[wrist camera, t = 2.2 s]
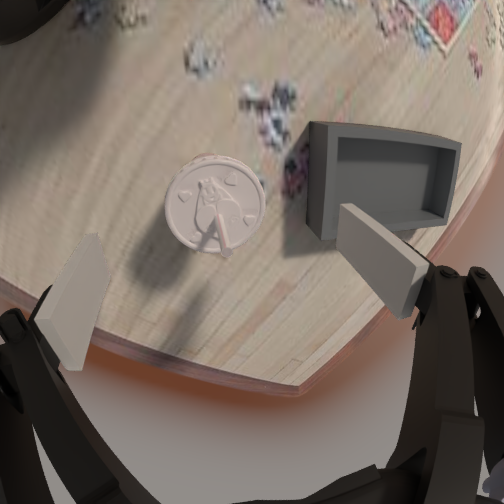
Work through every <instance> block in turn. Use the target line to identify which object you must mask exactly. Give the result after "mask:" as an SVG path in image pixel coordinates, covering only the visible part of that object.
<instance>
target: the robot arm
mask: <svg viewBox="0 0 504 504" xmlns="http://www.w3.org/2000/svg"><path fill="white" fill-rule="evenodd" d="M68 1H69V0H0V45H5V44H10V43H13V42H16V41H18V40H20V39H22V38H24V37H26V36H28V35H29V34H31V33H33V32H34V31H36V30H37V29H38V28H40V27H41V26H42V25H44V24H45V23H46V22H47V21H49V20H50V19H51V18H52V17H53V16H54V15H55V14H56V13H57V12H58V11H59V10H60V9H61V8H62V7H63V6H64V5H65V4H66V3H67V2H68ZM336 248H337V250H338V251H339V252H340V253H341V254H342V255H343V256H344V257H345V258H346V260H347V261H348V262H349V263H350V264H351V265H352V266H353V267H354V269H355V270H356V271H357V272H358V273H359V274H360V275H361V277H362V278H363V279H364V280H365V281H366V282H367V283H368V285H369V286H370V287H371V288H372V289H373V290H374V292H375V293H376V294H377V295H378V296H379V298H380V299H381V300H382V301H383V302H384V304H385V305H386V306H387V307H388V308H389V310H390V311H391V312H392V313H393V315H394V316H395V317H396V318H397V319H398V320H401V319H404V318H407V317H410V316H411V314H412V312H413V309H414V307H415V306H416V307H417V308H418V309H419V310H420V311H419V313H418V315H417V318H416V320H415V322H414V325H413V327H412V330H414V328H415V327H416V338H415V349H414V358H413V366H412V374H411V380H410V387H409V393H408V398H407V403H406V408H405V413H404V418H403V422H402V427H401V431H400V435H399V439H398V443H397V446H396V448H395V451H394V452H393V454H392V456H391V457H390V459H389V461H388V463H387V465H386V468H384V469H377V468H376V465H375V464H373V465H371V466H369V467H366V468H364V469H361V470H359V471H357V472H354V473H352V474H349V475H346V476H344V477H341V478H339V479H338V480H336V481H334V482H333V483H331V484H329V485H328V486H326V487H324V488H323V489H321V490H319V491H317V492H316V493H314V494H312V495H310V496H308V497H306V498H304V499H300V500H254V501H248V502H240V503H233V504H504V296H503V294H502V292H501V291H500V289H499V288H498V286H497V284H496V283H495V281H494V280H493V278H492V277H491V275H490V274H489V273H488V272H487V271H486V270H485V269H483V268H481V267H471V268H470V270H469V273H468V276H460V275H459V274H458V273H457V272H456V271H455V270H454V269H452V268H450V267H448V266H443V265H441V266H437V267H436V266H434V264H432V263H431V262H430V261H429V260H428V259H427V258H425V257H424V256H423V255H422V254H420V253H419V252H418V251H417V250H415V249H414V248H413V247H412V246H411V245H410V244H408V243H406V242H404V241H402V240H400V239H399V238H398V237H396V236H395V235H394V234H393V233H391V232H390V231H389V230H387V229H386V228H385V227H384V226H382V225H381V224H380V223H378V222H377V221H376V220H374V219H373V218H372V217H370V216H369V215H367V214H366V213H365V212H363V211H362V210H361V209H359V208H358V207H356V206H355V205H354V204H352V203H348V204H340V213H339V222H338V231H337V240H336ZM110 279H111V275H110V272H109V269H108V266H107V262H106V259H105V256H104V253H103V249H102V246H101V243H100V239H99V236H98V232H97V233H92V234H86V235H85V236H84V237H83V239H82V240H81V242H80V243H79V244H78V246H77V247H76V249H75V250H74V252H73V253H72V255H71V256H70V258H69V260H68V261H67V263H66V264H65V266H64V267H63V269H62V271H61V272H60V274H59V276H58V277H57V279H56V281H55V282H54V284H53V285H50V286H49V287H48V288H47V289H46V290H45V291H44V292H43V294H42V296H41V297H40V299H39V301H38V303H37V305H36V307H35V308H34V310H33V312H32V314H31V316H30V318H29V320H28V321H26V319H25V317H24V315H23V314H22V312H21V310H20V309H18V308H13V309H10V310H8V311H6V312H5V313H3V314H2V315H1V316H0V335H1V337H2V338H3V340H4V341H5V344H2V345H0V504H55V503H54V501H53V498H52V496H51V493H50V490H49V487H48V484H47V481H46V478H45V476H44V472H43V469H42V465H41V461H40V457H39V454H38V450H37V445H36V441H35V437H34V432H33V427H34V429H35V431H36V433H37V436H38V438H39V440H40V442H41V444H42V446H43V448H44V450H45V452H46V454H47V456H48V458H49V460H50V461H51V463H52V465H53V467H54V469H55V470H56V472H57V474H58V476H59V477H60V479H61V481H62V482H63V484H64V485H65V487H66V489H67V490H68V492H69V493H70V495H71V496H72V498H73V499H74V501H75V502H76V504H161V503H160V502H159V501H157V500H156V499H155V498H154V497H153V496H152V495H151V494H150V493H149V492H148V491H147V490H146V489H145V488H144V487H143V486H142V485H141V484H140V483H139V482H138V481H137V479H136V478H135V477H134V476H133V475H132V474H131V473H130V472H129V470H128V469H127V468H126V467H125V466H124V465H123V464H122V462H121V461H120V460H119V459H118V458H117V456H116V455H115V454H114V453H113V451H112V450H111V449H110V448H109V446H108V445H107V444H106V442H105V441H104V440H103V438H102V437H101V436H100V434H99V433H98V432H97V430H96V429H95V427H94V426H93V425H92V423H91V422H90V420H89V418H88V417H87V415H86V414H85V412H84V411H83V410H82V408H81V406H80V405H79V403H78V401H77V400H76V398H75V396H74V395H73V393H72V391H71V390H70V388H69V386H68V384H67V383H66V381H65V379H64V377H63V375H62V374H61V372H60V371H59V370H58V366H59V363H60V362H61V363H62V364H63V366H64V367H65V369H66V370H67V371H82V369H83V365H84V361H85V357H86V353H87V349H88V346H89V342H90V339H91V335H92V332H93V329H94V325H95V322H96V319H97V316H98V313H99V310H100V307H101V304H102V301H103V298H104V295H105V292H106V289H107V287H108V284H109V281H110ZM479 307H480V309H481V314H480V316H479V318H477V315H476V313H477V311H478V309H479ZM474 396H475V401H476V405H477V411H478V416H475V414H474ZM32 424H33V426H32ZM483 450H484V457H485V461H486V465H487V469H488V472H489V475H490V477H488V478H487V479H486V480H485V481H484V483H483V487H482V489H483V491H484V492H485V493H489V497H484V496H481V495H477V489H478V483H479V478H480V472H481V464H482V456H483Z"/></svg>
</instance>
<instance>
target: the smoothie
mask: <svg viewBox="0 0 504 504" xmlns="http://www.w3.org/2000/svg"><path fill="white" fill-rule="evenodd" d="M264 213H265V195H264V191H263V188H262V186H261V184H260V182H259V180H258V178H257V176H256V175H255V174H254V173H253V172H252V170H251V169H250V168H249V167H248V166H246V165H245V164H243V163H242V162H240V161H239V160H236V159H233V158H230V157H227V156H218V155H215V154H212V153H204V154H200V155H198V156H197V157H195V158H194V159H193V160H192V161H191V162H190V163H188V164H186V165H185V166H184V167H182V168H181V169H180V170H179V171H178V172H177V173H176V174H175V176H174V177H173V179H172V180H171V182H170V183H169V185H168V189H167V192H166V195H165V216H166V221H167V223H168V226H169V228H170V230H171V232H172V233H173V234H174V236H175V237H176V238H177V239H178V240H179V241H180V242H181V243H183V244H184V245H185V246H187V247H189V248H191V249H193V250H196V251H199V252H203V253H222V255H223V256H224V257H230V256H231V255H232V254H233V249H235V248H237V247H239V246H241V245H243V244H244V243H246V242H247V241H248V240H249V239H250V238H251V237H252V236H253V235H254V234H255V233H256V231H257V230H258V228H259V227H260V225H261V223H262V220H263V217H264Z"/></svg>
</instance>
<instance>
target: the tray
mask: <svg viewBox="0 0 504 504" xmlns="http://www.w3.org/2000/svg"><path fill="white" fill-rule="evenodd" d="M461 145H462V143H460V142H457V141H454V140H451V139H448V138H445V137H441V136H437V135H432V134H427V133H422V132H416V131H410V130H403V129H397V128H389V127H381V126H373V125H363V124H351V123H337V122H318V121H310V139H309V175H308V198H307V216H306V224H307V225H308V226H309V227H310V229H311V230H312V231H313V232H314V233H315V234H316V236H317V237H318V238H319V239H320V240H321V241H323V240H330V239H337V231H338V222H339V213H340V204H348V203H352V204H354V205H355V206H356V207H358V208H359V209H361V210H362V211H363V212H365V213H366V214H367V215H369V216H370V217H372V218H373V219H374V220H376V221H377V222H378V223H380V224H381V225H382V226H384V227H385V228H386V229H387V230H389V231H390V232H394V231H402V230H410V229H418V228H426V227H435V226H443V225H447V221H448V217H449V213H450V208H451V204H452V199H453V195H454V190H455V184H456V179H457V173H458V167H459V160H460V153H461Z"/></svg>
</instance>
